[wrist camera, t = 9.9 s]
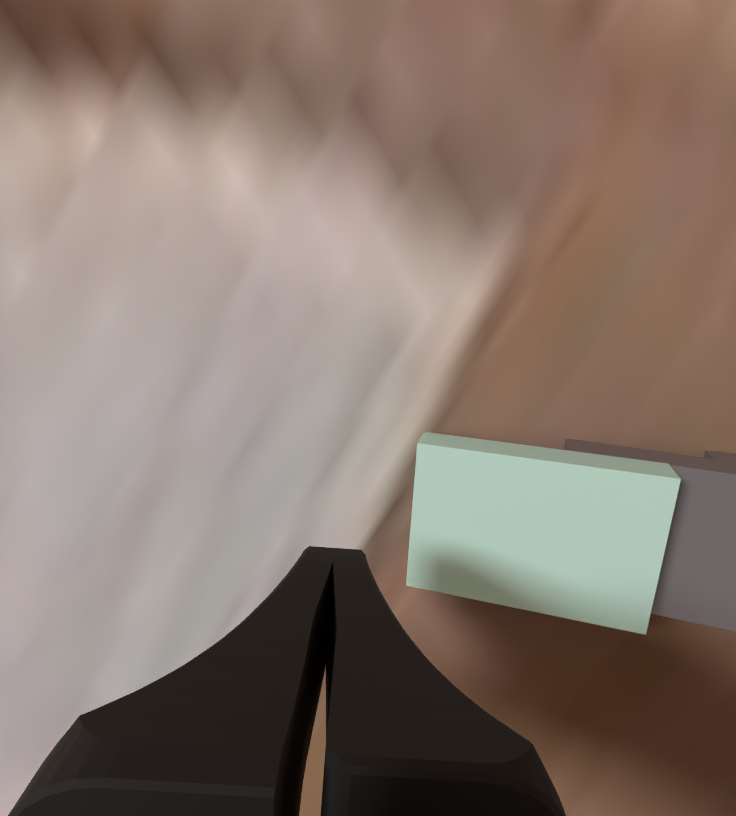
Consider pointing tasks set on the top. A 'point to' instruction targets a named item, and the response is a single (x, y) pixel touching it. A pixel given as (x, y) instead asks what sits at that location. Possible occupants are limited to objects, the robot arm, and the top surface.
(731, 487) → the domino
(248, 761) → the robot arm
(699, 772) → the top surface
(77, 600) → the top surface
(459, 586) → the green domino
